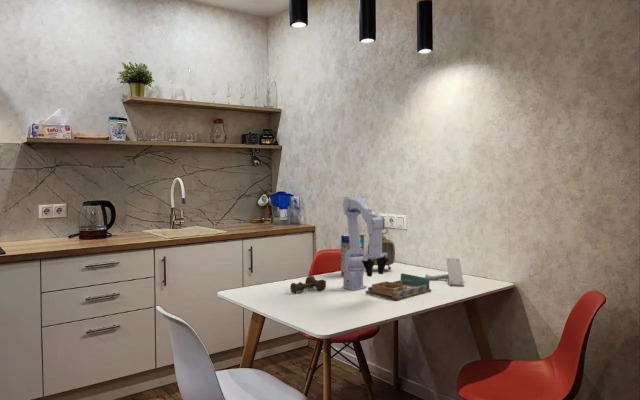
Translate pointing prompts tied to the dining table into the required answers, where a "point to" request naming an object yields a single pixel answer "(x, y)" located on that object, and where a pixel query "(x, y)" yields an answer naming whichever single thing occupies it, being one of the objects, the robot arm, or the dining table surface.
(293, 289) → the brown knobbed bar
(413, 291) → the bay
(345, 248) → the beverage box
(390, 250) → the tabletop clock
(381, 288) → the box
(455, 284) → the door handle
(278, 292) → the dining table surface
